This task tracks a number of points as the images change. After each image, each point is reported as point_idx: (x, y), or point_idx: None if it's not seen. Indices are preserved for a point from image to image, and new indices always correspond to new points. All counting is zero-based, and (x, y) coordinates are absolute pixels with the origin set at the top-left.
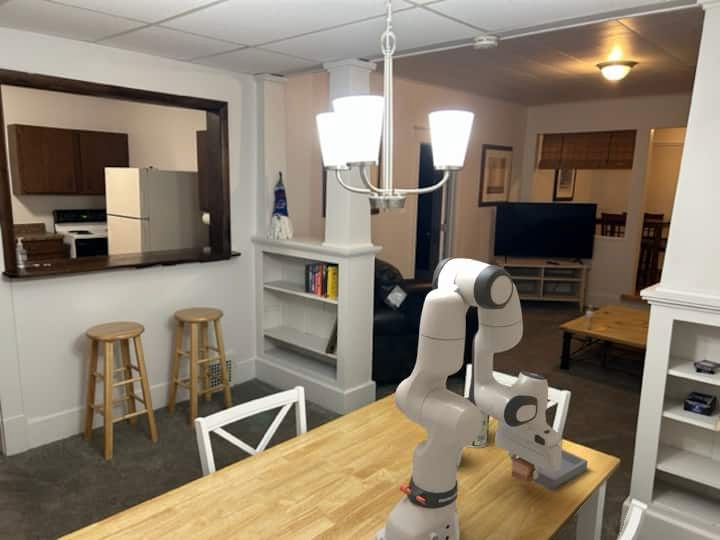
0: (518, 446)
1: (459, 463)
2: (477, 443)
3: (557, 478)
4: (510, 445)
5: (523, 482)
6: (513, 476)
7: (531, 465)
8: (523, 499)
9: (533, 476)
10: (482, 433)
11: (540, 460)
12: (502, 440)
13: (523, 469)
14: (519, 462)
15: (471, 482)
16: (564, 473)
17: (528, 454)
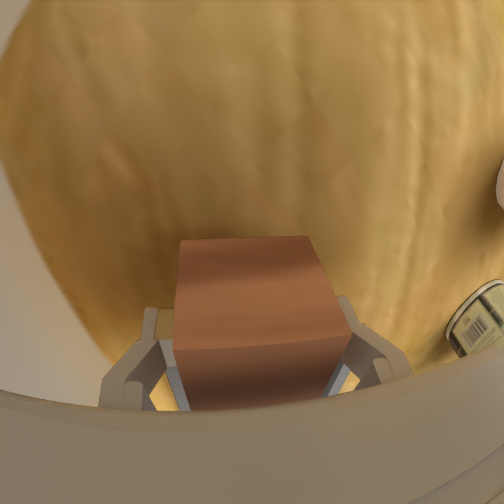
0: (359, 497)
1: (501, 188)
2: (474, 309)
3: (168, 377)
4: (434, 435)
5: (203, 242)
6: (291, 240)
7: (190, 387)
8: (194, 188)
9: (151, 317)
10: (480, 344)
11: (53, 471)
12: (497, 410)
13: (218, 318)
14: (288, 355)
15: (440, 114)
16: (180, 402)
17: (203, 490)
